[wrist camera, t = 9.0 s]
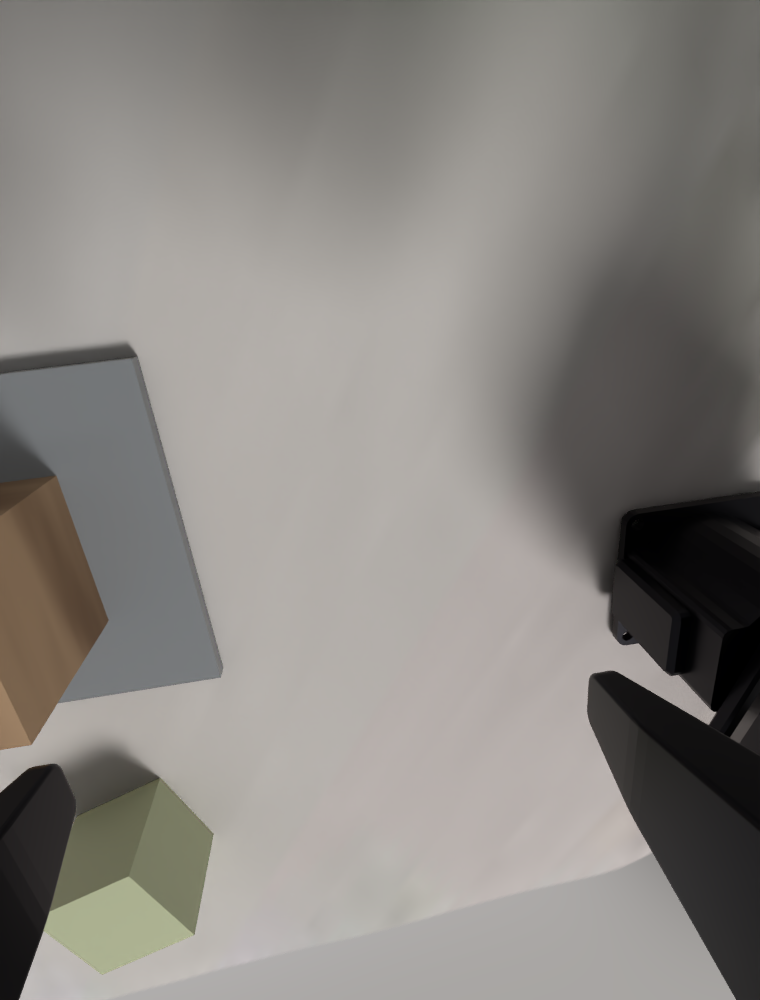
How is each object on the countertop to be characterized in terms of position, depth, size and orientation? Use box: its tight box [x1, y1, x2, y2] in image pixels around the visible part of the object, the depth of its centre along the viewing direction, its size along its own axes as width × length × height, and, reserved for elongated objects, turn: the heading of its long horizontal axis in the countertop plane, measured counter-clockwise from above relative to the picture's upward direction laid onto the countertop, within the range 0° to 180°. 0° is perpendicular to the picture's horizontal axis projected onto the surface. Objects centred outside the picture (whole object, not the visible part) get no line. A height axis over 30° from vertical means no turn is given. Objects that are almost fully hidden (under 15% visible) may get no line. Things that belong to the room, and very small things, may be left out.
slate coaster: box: [0, 357, 223, 703], centre depth 19 cm, size 13×13×1 cm
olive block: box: [44, 778, 213, 975], centre depth 24 cm, size 4×4×4 cm
